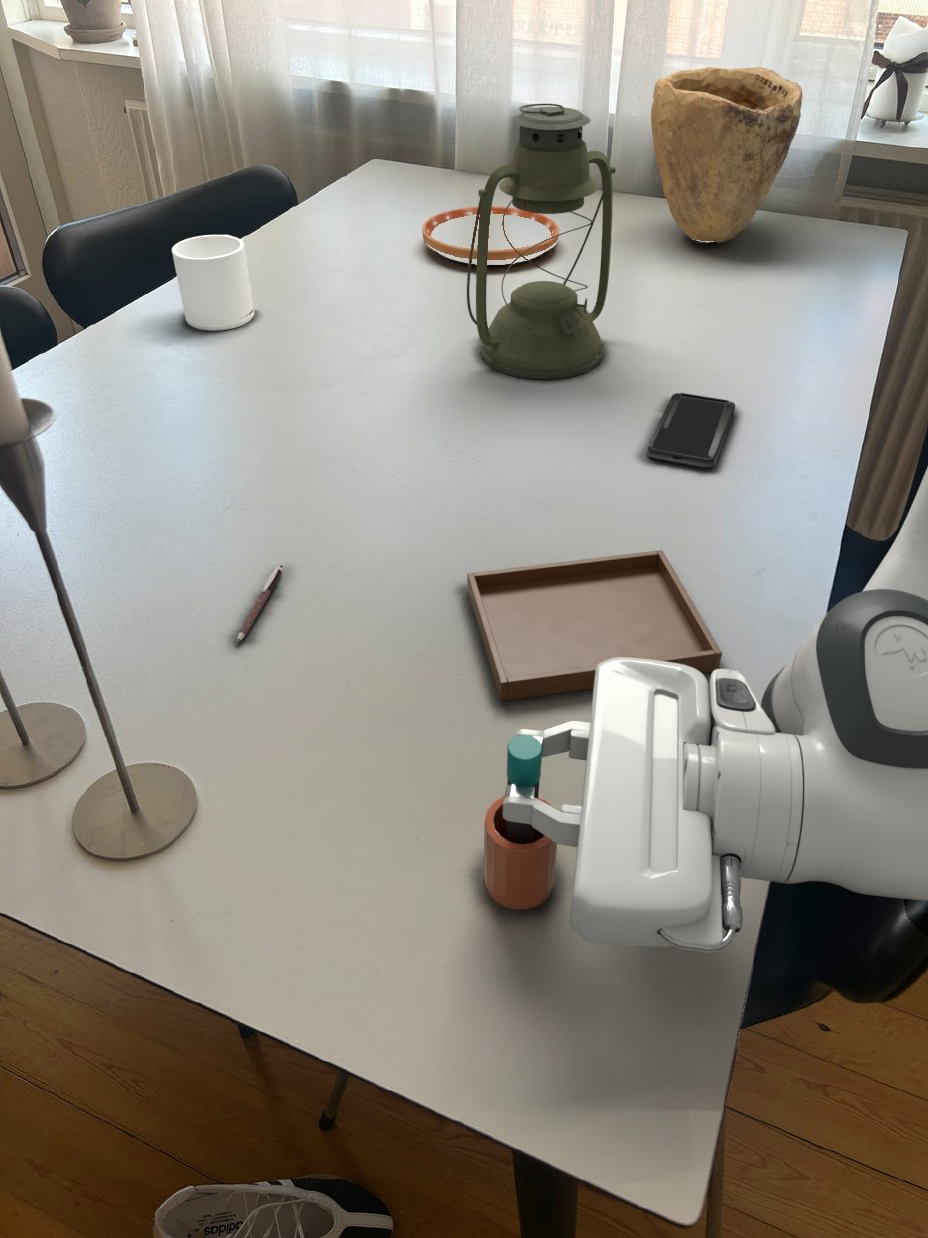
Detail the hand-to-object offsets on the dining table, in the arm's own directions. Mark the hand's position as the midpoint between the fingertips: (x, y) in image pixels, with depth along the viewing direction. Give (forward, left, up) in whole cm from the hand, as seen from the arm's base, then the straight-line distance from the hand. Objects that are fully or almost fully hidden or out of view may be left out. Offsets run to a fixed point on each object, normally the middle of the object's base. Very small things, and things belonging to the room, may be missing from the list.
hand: (509, 773), depth 60 cm
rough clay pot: (-61, -119, -11) cm, 134 cm away
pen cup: (-1, 0, -11) cm, 11 cm away
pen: (+16, -34, -11) cm, 39 cm away
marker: (-1, 0, -10) cm, 10 cm away
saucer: (-24, -124, -11) cm, 126 cm away
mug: (+20, -105, -11) cm, 107 cm away
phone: (-35, -57, -11) cm, 67 cm away
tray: (-13, -25, -11) cm, 30 cm away
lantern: (-23, -83, -11) cm, 87 cm away
